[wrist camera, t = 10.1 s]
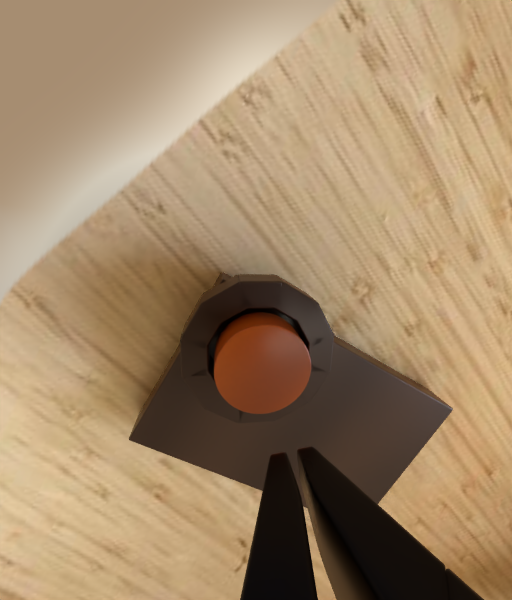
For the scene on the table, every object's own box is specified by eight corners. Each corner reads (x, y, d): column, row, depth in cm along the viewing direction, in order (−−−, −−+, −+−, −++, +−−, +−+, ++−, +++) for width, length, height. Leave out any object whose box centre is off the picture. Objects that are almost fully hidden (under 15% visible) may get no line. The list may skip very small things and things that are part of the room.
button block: (131, 410, 17) (107, 464, 13) (228, 243, 15) (231, 250, 12) (345, 497, 21) (373, 558, 17) (442, 372, 19) (497, 409, 16)
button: (198, 369, 13) (195, 391, 12) (243, 295, 13) (246, 307, 11) (271, 404, 14) (278, 428, 12) (316, 336, 14) (330, 353, 12)
